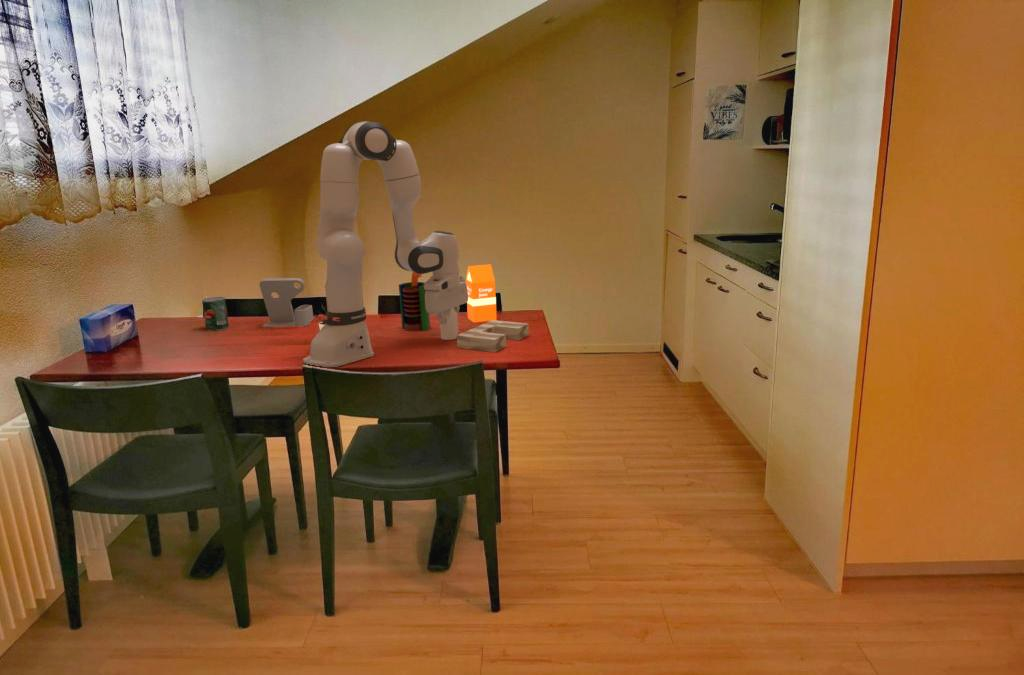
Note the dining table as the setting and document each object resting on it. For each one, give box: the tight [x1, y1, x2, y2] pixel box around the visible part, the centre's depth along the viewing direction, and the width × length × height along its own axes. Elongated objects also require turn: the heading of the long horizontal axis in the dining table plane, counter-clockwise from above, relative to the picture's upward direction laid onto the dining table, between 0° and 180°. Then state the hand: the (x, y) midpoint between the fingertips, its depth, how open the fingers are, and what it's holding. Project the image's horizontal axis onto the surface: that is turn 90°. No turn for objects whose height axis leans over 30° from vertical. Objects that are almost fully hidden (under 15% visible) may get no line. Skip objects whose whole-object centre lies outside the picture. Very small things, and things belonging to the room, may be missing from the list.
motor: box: [398, 272, 431, 332], centre depth 257 cm, size 10×9×20 cm
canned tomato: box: [201, 296, 230, 332], centre depth 267 cm, size 8×8×11 cm
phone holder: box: [258, 277, 314, 328], centre depth 269 cm, size 17×10×18 cm, turn 85°
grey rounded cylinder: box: [439, 308, 459, 341], centre depth 243 cm, size 6×12×6 cm
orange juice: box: [465, 263, 498, 323], centre depth 267 cm, size 8×9×20 cm
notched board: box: [456, 320, 530, 353], centre depth 238 cm, size 22×14×4 cm, turn 150°
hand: (448, 321), depth 243 cm, fingers closed on grey rounded cylinder, 5 cm apart
